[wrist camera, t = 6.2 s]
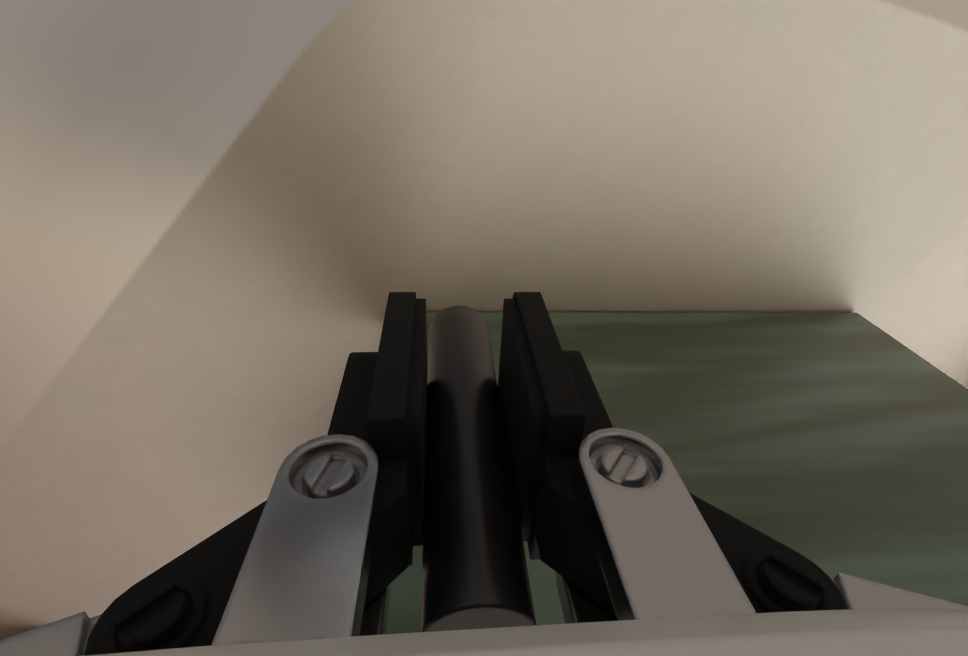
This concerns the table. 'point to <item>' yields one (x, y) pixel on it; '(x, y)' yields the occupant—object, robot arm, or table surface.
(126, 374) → the table surface
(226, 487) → the table surface
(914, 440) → the cupboard door
